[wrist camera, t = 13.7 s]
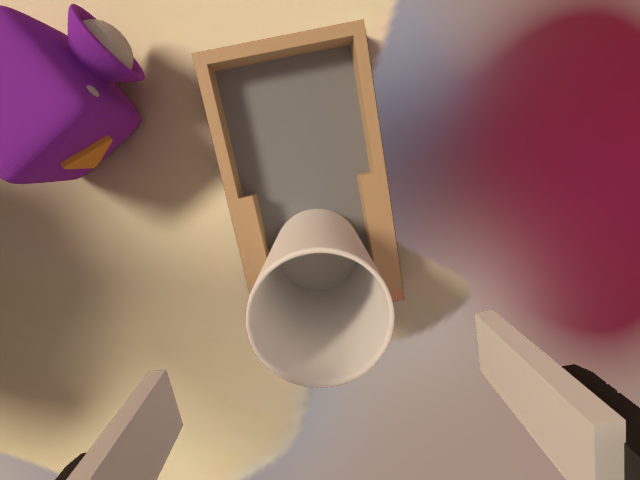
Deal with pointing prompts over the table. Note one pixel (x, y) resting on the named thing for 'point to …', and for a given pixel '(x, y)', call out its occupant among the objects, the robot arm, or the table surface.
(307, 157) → the board
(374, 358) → the cup
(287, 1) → the table surface
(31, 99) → the toy camera
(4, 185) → the table surface
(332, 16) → the table surface
